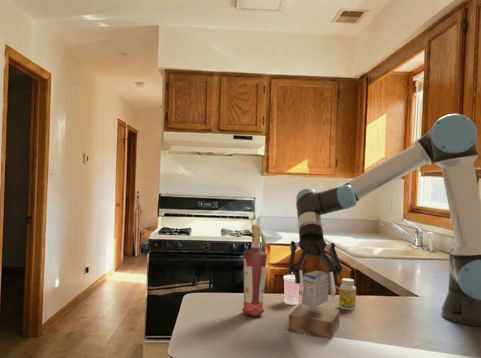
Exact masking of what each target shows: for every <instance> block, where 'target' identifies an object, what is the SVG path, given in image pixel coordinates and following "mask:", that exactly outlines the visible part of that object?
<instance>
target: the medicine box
mask: <svg viewBox="0 0 481 358" xmlns="http://www.w3.org/2000/svg"><path fill="white" fill-rule="evenodd" d="M302 274H303V273H302ZM329 274H330V273H329V272H328V271H321V270H313V271H309V272H306V273H304V274H303V286H304V292H303V296H302V295H301V304H304V305H307V306H311V307H319V306H321V305H323V304H325V303H328V300H329V287H330V283H329Z"/></svg>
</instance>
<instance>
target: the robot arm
mask: <svg viewBox="0 0 481 358" xmlns="http://www.w3.org/2000/svg"><path fill="white" fill-rule="evenodd" d="M477 138H478V129H477V127H476V125H475V123H474V121H473V120H472V119H471V118H469V117H468V116H466V115H463V114H459V113H452V114H451V113H449V114H447V115H444V116H442V117H440V118H439V119H437V120H436V121H435V122H434V123H433V125H432V127H431V128H430V129H429V130H428V131H427V132H425V134H423V135H422V136H420V137H419V138H417V139H416V140H414V143H413V145H410V146H409V147H407V148H406V149H404V150H402V151H401V152H399V153H397V154H395V155H393V156H392V157H390V158H388V159H386V160H385V161H383V162H382V163H380V164H378V165H376V166H374V167H373V168H370V169H369V170H367V171H366V172H363V173H361V174H360V175H358V176H357V177H354V178H353V179H351V180H350V181H348V182H346V183H344V184H342V185H340V186H337V187H333V188H330V189H327V190H323V191H319V192H318V191H316V190H315V189H313V188H304V189H301V190H299V192H298V193H297V194H296V202H295V203H296V205H295V207H296V213H297V224H298V225H297V226H298V237H299V238H298V239H299V241H298V242H295V241H294V240H292V241H290V245H289V249H290V256H289V257H290V258H289V263H288V273H290V274H292V272H293V275H295V282H296V283H297V284H299V296H301V297H302V296H303V292H304V286H303V270H301V268H302V267H303V264H304V263H305V260H306V258H307V256H311V257H312V256H315V257H318V259H319V260H321V263H323V265H324V267H325V268H326V270H327V272H328V273H329V287H330V296H331V297H332V298H334V297H335V296H336V293H337V291H336V286H337V284H338V276H339V275H341V274H342V271H343V267H342V265H341V262H340V260H339V259H340V258H339V257H338V253H337V251H336V244H335V243H334V242H332V243H326V241H325V238H324V231H323V224H322V215H327V214H330V213H334V212H335V213H336V212H338V211H343V210H348V209H351V208H353V207H356V206H357V203H358V202H359V201H361V200H363V199H365V198H366V197H368V196H369V195H371V194H373V193H376V192H377V191H379V190H381V189H383V188H384V187H386V186H389V185H390V184H392V183H394V182H395V181H398V180H399V179H401V178H403V177H405V176H407V175H408V174H410V173H412V172H414V171H416V170H418V169H419V168H421V167H423V166H425V165H430V166H431V165H433V164H435V165H437V167H439V168H440V169H441V174H442V178H443V183H444V188H445V194H446V200H447V204H448V210H449V215H450V222H451V226H452V232H453V237H454V241H455V246H452V247H451V248H450V249H449V254H448V258H449V261H448V262H449V264H448V265H449V268H448V291H447V295H446V297H445V299H444V302H443V304H442V307H441V315H442V317H443V318H445V319H446V320H449V321H452V322H453V323H454V322H455V323H458V324H462V325H466V326H468V325H469V326H474V327H481V195H480V191H479V185H478V179H477V175H476V170H475V165H474V163H475V161H476V160H477V158H479V153H478V148H477V143H476V141H477ZM298 248H300V250H301V251H302V253H301V255H300V257H299V259H298V261H297V264H296V266H294V263H295V258H296V251H297V250H298ZM325 249H326V250H327V252H328V253H329V256H330V258H329V256H328V255H327V254H326V251H325Z"/></svg>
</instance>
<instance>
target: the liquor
mask: <svg viewBox="0 0 481 358" xmlns="http://www.w3.org/2000/svg"><path fill="white" fill-rule="evenodd" d="M251 227H252V228H251V232H252V237H251V246H250V249H248V250H247V251H245V252H244V253H243V308H241V310H242V312H243V313H244V314H245V315H246V316H247V317H252V318H259V317H260V316H261V315H262V314H263V313H264V312H265V310H264V295H265V283H266V282H265V281H266V271H267V260H268V259H267V257H268V254H266V252H265V251H264V250H261V236H260V234H261V229H262V227H261V225H260V224H252V225H251Z"/></svg>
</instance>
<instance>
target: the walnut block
mask: <svg viewBox="0 0 481 358" xmlns="http://www.w3.org/2000/svg"><path fill="white" fill-rule="evenodd" d="M340 314H341V312H340V309H334V308H328V307H321V306H316V307H311V306H307V305H304V304H302V303H299V304H298V306H297V307H296V308H294V309H293V310H292V311H291V312H290V314H289V315H288V331H287V332H288V333H293V332H294V333H295V334H298V333H299V335H304V334H305V336H309V335H310V336H309V337H315V338H319V337H320V338H321V339H325V340H330V339H332V340H333V338H334V336H335V334H336V333H337V331H338V329H339V327H340ZM320 338H319V339H320Z"/></svg>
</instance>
